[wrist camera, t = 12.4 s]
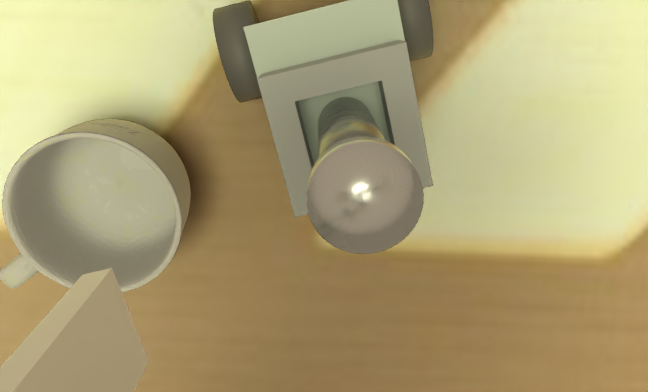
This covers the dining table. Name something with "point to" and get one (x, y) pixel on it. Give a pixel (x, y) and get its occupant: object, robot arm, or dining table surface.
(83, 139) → the teacup
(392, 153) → the flashlight
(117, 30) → the dining table surface
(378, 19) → the trolley
